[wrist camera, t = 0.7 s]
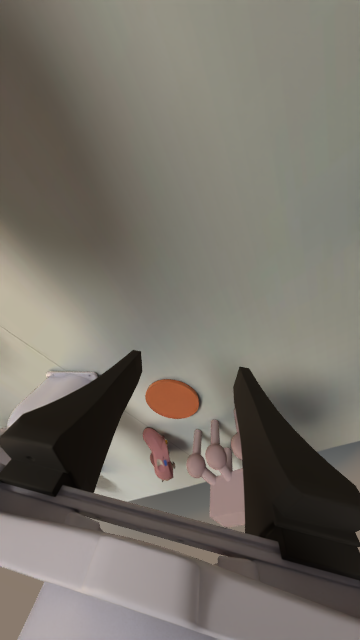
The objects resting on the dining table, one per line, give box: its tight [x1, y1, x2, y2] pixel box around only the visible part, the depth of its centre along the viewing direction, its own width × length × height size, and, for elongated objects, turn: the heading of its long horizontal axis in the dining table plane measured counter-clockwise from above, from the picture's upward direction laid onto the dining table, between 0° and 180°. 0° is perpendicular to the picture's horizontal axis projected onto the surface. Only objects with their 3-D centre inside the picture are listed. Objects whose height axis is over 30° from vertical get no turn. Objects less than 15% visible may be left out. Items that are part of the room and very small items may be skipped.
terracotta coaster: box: [145, 379, 199, 419], centre depth 29 cm, size 9×9×1 cm
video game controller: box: [143, 428, 175, 482], centre depth 33 cm, size 10×5×7 cm, turn 5°
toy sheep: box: [186, 409, 245, 528], centre depth 23 cm, size 20×11×14 cm, turn 141°
